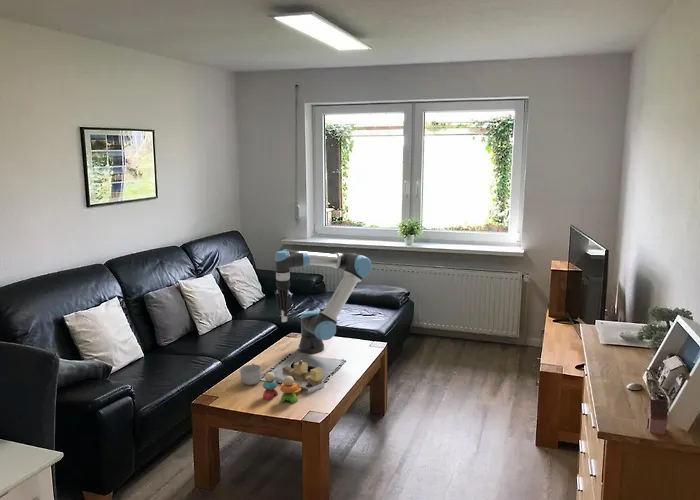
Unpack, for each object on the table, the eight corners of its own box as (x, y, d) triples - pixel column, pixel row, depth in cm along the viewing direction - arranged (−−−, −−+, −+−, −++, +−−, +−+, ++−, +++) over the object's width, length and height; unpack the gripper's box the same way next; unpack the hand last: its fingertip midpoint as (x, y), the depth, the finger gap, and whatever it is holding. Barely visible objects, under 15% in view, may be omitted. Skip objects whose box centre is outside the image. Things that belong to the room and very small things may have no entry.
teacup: (257, 387, 284) (256, 372, 282) (237, 386, 286) (236, 371, 284) (267, 377, 297) (266, 362, 296) (247, 375, 299) (246, 361, 298)
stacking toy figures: (305, 390, 280) (305, 366, 278) (294, 405, 263) (293, 380, 261) (271, 387, 284) (270, 363, 282) (258, 402, 267) (257, 377, 265)
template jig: (287, 373, 301) (287, 356, 300) (324, 386, 284) (323, 369, 282) (271, 379, 293) (271, 362, 292) (308, 393, 276) (307, 375, 274)
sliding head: (301, 373, 294) (300, 357, 293) (307, 375, 291) (307, 360, 289) (287, 378, 287) (286, 363, 286) (293, 381, 284) (293, 365, 282)
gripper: (269, 279, 309) (271, 320, 313) (286, 282, 301) (287, 325, 305) (280, 276, 315) (281, 317, 319) (296, 280, 306) (297, 322, 310)
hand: (284, 321), depth 312 cm, fingers closed
